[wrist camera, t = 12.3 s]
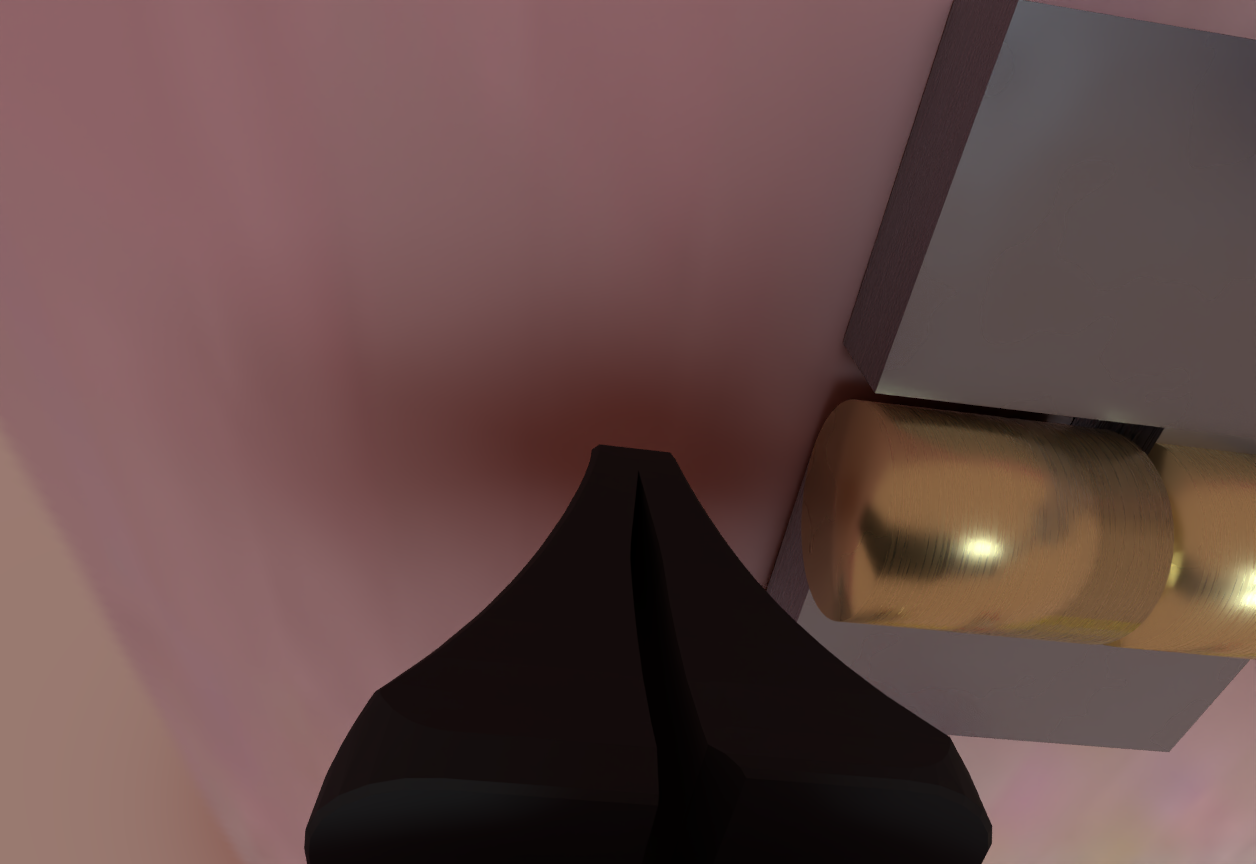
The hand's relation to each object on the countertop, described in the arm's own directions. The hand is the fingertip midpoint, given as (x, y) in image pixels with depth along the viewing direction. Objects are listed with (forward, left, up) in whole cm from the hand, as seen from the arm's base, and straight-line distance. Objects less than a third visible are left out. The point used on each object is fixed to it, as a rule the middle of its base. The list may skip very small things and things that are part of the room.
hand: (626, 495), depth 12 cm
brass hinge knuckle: (-9, +2, -2) cm, 9 cm away
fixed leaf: (-9, -3, -3) cm, 10 cm away
